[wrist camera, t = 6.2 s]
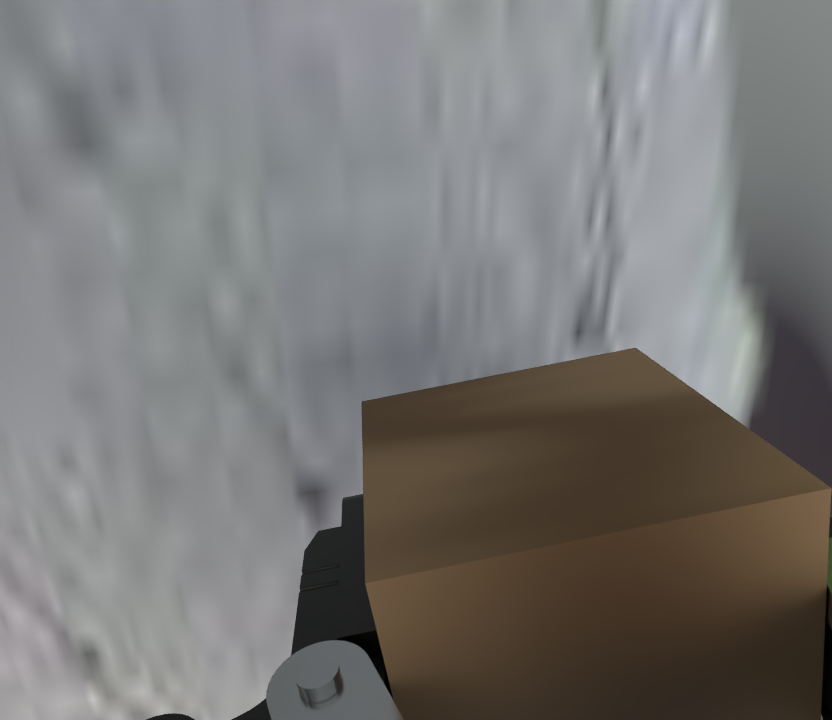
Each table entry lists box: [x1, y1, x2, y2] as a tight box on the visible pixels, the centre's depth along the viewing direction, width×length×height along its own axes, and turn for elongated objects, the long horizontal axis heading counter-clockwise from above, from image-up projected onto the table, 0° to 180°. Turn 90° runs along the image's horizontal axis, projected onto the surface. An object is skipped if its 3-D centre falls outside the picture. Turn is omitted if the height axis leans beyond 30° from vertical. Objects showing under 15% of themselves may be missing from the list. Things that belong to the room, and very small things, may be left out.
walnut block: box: [362, 348, 831, 720], centre depth 10 cm, size 5×5×5 cm
